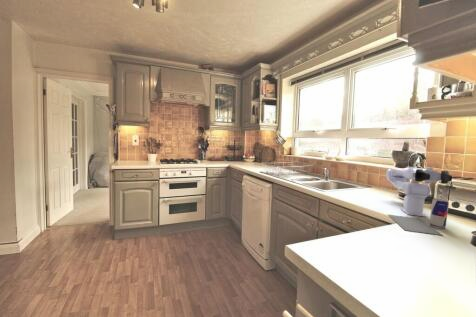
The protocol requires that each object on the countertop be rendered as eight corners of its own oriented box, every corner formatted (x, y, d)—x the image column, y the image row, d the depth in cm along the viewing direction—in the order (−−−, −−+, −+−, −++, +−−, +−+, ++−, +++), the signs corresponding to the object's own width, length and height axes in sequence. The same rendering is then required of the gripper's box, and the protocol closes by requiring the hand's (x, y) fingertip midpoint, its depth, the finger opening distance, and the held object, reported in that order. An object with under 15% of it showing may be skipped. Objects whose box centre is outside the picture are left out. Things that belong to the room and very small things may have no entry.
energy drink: (440, 230, 97) (444, 202, 96) (426, 225, 102) (429, 198, 101) (448, 228, 99) (452, 201, 98) (433, 224, 104) (437, 197, 103)
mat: (388, 215, 114) (388, 214, 114) (419, 219, 110) (419, 218, 110) (404, 230, 95) (404, 229, 95) (443, 235, 91) (443, 235, 91)
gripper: (407, 165, 113) (420, 166, 100) (442, 167, 109) (461, 169, 96) (405, 180, 113) (419, 183, 100) (441, 182, 109) (460, 186, 96)
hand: (439, 177), depth 98 cm, fingers open, 7 cm apart
